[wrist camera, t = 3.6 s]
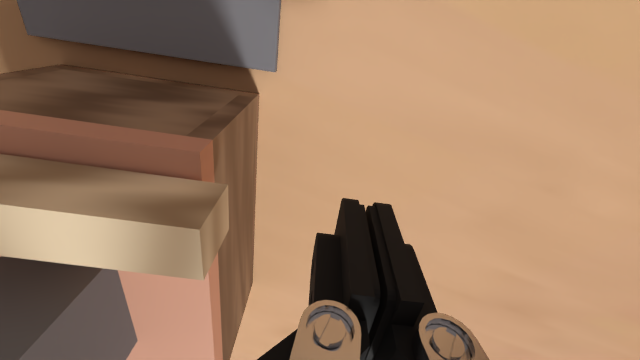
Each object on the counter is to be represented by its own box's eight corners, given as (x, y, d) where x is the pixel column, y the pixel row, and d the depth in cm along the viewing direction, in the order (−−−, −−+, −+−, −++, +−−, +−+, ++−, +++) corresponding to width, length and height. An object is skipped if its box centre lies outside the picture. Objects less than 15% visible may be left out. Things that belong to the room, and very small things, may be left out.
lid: (221, 131, 12) (91, 259, 5) (228, 363, 20) (180, 522, 13) (-88, 87, 11) (-637, 170, 5) (50, 343, 19) (-86, 499, 13)
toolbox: (258, 93, 18) (212, 139, 11) (252, 282, 26) (223, 379, 19) (61, 64, 17) (-124, 92, 10) (118, 266, 25) (37, 359, 18)
